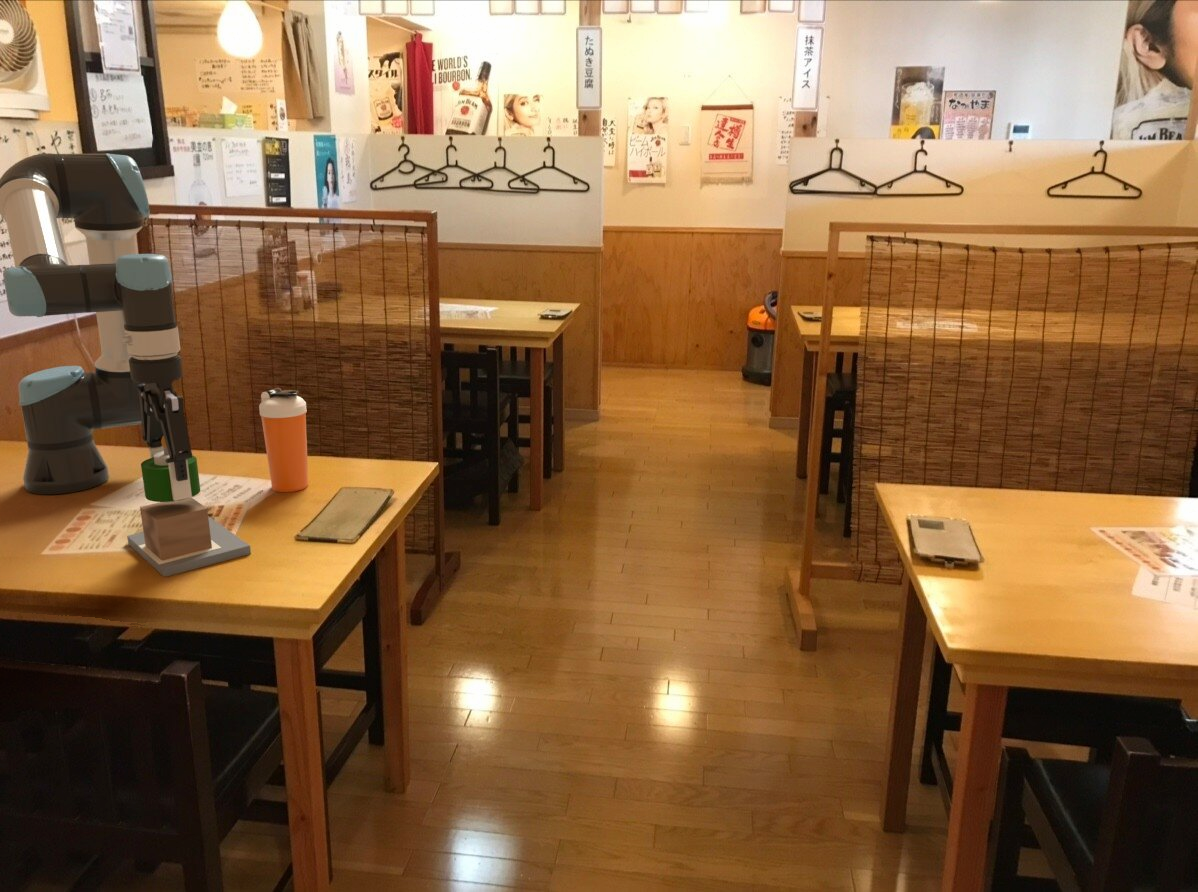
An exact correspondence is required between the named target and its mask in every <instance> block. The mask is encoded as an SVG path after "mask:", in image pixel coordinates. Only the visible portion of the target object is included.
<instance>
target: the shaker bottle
mask: <svg viewBox="0 0 1198 892" xmlns="http://www.w3.org/2000/svg"><path fill="white" fill-rule="evenodd" d="M299 394H300V391H299V390H294V389H285V390H282V389H281V388H279V387H275V388H272V389H269V390H266V391H263V392H261V395H260V398H261V399H260V400H261V402H260V404H259V406H258V408H259V416H260V417H261V422H262V423H261V424H262V428H263V429H262V431H263V436H264V443H265V450H266V457H267V463H268V469H269V476H270V484H271V489H272V490H273V491H274V492H279V493H292V492H298V491H302V490H304V489H306V488H307V487H308V486H309V468H308V464H309V463H308V439H307V416H306V414H307V412H308V411H307V402H306V401H305V400H304V398H302V397H301V396H298V395H299Z"/></svg>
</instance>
